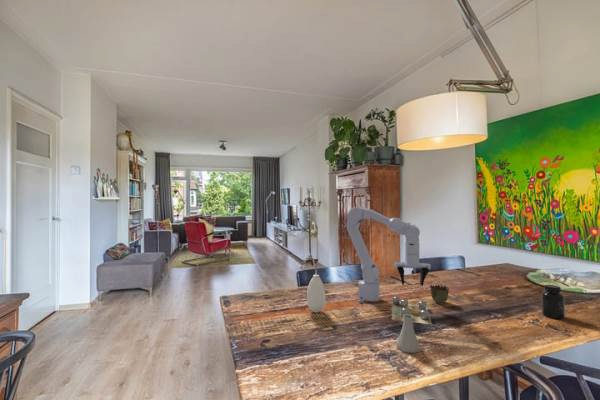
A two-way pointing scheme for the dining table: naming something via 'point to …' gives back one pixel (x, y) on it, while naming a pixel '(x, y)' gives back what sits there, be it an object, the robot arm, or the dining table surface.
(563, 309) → the supplement bottle
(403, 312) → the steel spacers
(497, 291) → the dining table surface
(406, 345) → the flask
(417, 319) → the birch board
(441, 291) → the cup
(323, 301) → the sauce bottle
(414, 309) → the brass nut
